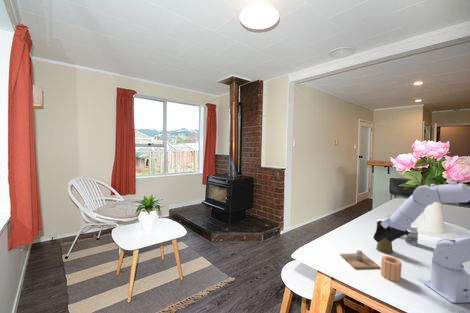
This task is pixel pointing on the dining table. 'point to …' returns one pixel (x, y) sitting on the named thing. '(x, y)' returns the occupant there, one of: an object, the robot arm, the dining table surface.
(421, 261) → the dining table surface
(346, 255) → the plate
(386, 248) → the olive flared column
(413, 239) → the pill bottle
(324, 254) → the dining table surface
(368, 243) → the dining table surface
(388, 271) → the wooden slatted pot
